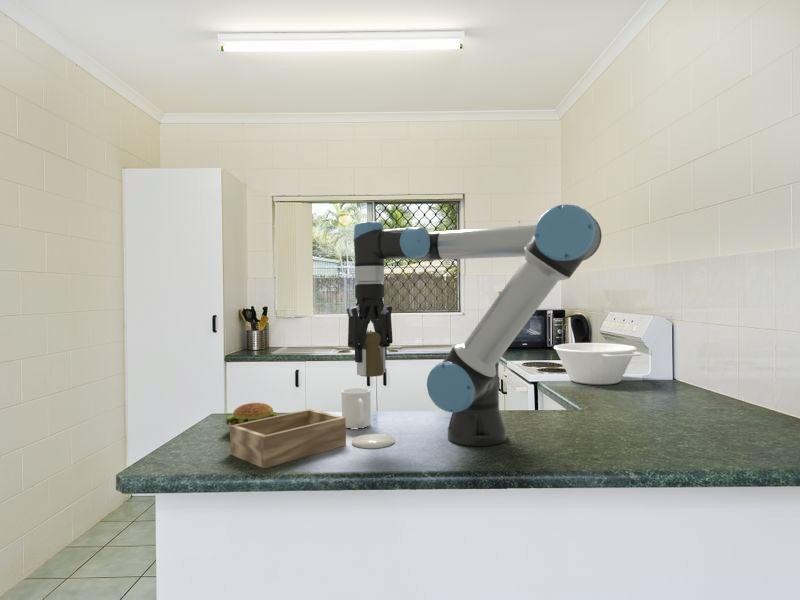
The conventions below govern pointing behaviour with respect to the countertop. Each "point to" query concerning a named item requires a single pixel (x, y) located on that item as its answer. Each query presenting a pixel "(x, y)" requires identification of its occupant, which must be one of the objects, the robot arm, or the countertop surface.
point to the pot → (595, 361)
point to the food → (250, 413)
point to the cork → (373, 354)
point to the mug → (356, 407)
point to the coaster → (373, 441)
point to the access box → (287, 437)
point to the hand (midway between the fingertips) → (371, 373)
